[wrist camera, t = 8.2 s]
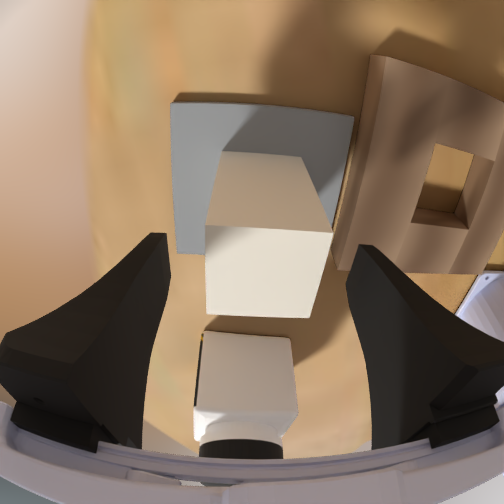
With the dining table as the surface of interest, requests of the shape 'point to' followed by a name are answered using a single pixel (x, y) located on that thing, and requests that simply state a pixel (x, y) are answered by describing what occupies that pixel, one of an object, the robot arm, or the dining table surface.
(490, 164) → the pocket block
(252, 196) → the peg
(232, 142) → the mat
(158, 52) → the dining table surface
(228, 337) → the white bottle
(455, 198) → the dining table surface
